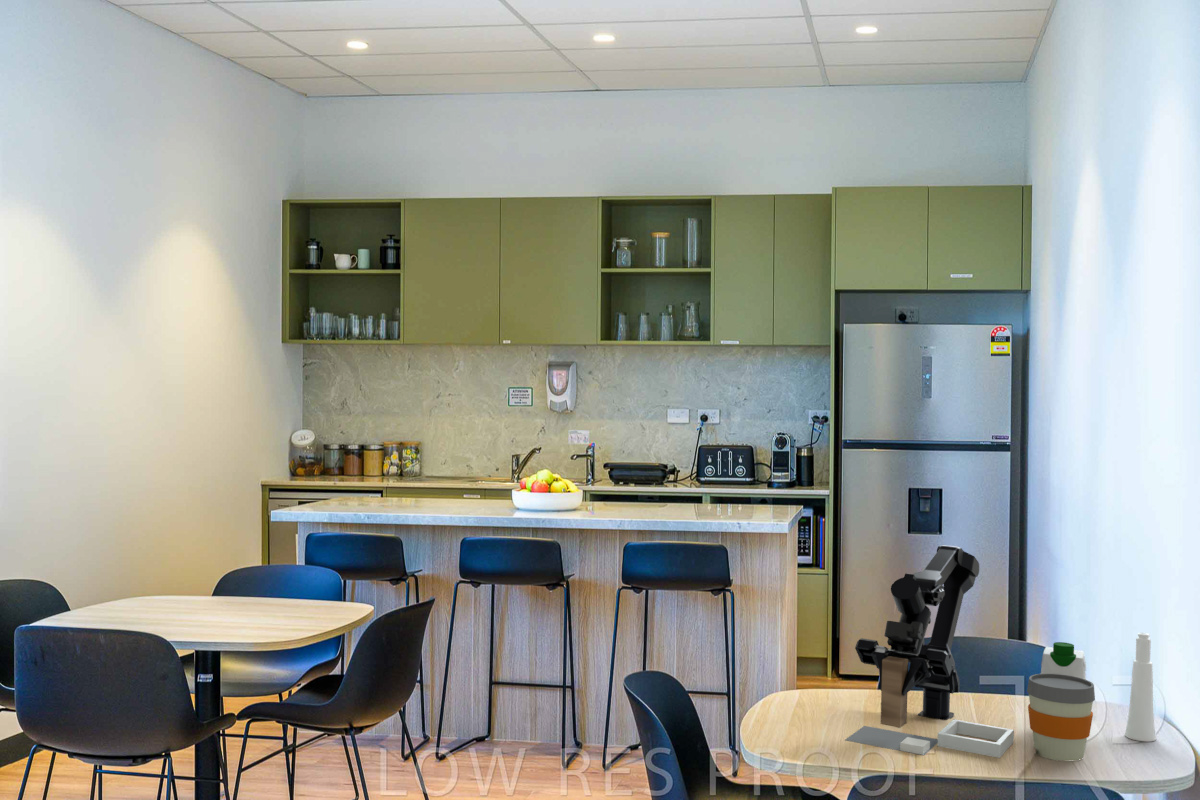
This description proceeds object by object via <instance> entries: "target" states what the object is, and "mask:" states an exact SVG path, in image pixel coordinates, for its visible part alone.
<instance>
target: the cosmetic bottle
mask: <svg viewBox="0 0 1200 800" xmlns="http://www.w3.org/2000/svg"><path fill="white" fill-rule="evenodd" d="M1135 641H1136V642H1135V643H1136V644H1135V659H1134V660H1133V661H1132V674H1131V684H1130V695H1129V696H1130V697H1129V708H1128V715H1127V721H1126V722H1127V723H1126V727H1125V731H1124V736H1125V737H1126V738H1128V739H1130V740H1134V741H1137V742H1138V741H1139V742H1148V743H1149V742H1150V743H1151V742H1155V741H1156V740H1157V735H1156V729H1155V728H1156V727H1155V716H1154V715H1155V714H1154V679H1153V676H1154V675H1153V673H1154V671H1153V662H1152V661H1151V648H1152V647H1151V646H1152V645H1151V644H1152V641H1151V638H1150V634H1149V633H1147V632H1137V637H1136V640H1135Z"/></svg>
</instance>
